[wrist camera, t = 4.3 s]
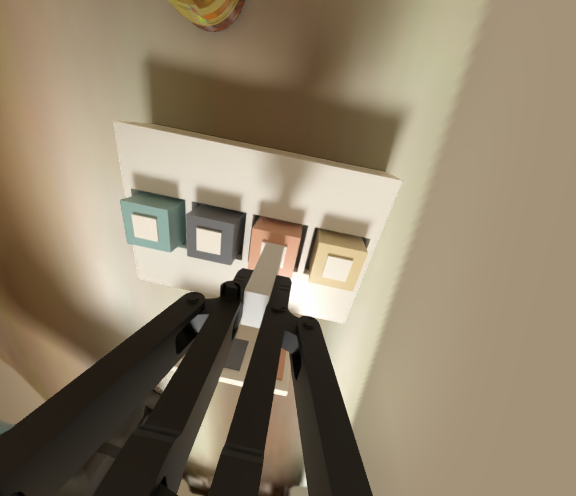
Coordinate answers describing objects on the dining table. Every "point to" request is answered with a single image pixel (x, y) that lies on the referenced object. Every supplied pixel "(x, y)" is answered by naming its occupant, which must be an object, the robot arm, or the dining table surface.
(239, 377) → the placard
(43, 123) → the dining table surface
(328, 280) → the key
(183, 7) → the sauce bottle
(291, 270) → the key
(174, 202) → the key
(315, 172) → the keypad
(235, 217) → the key
